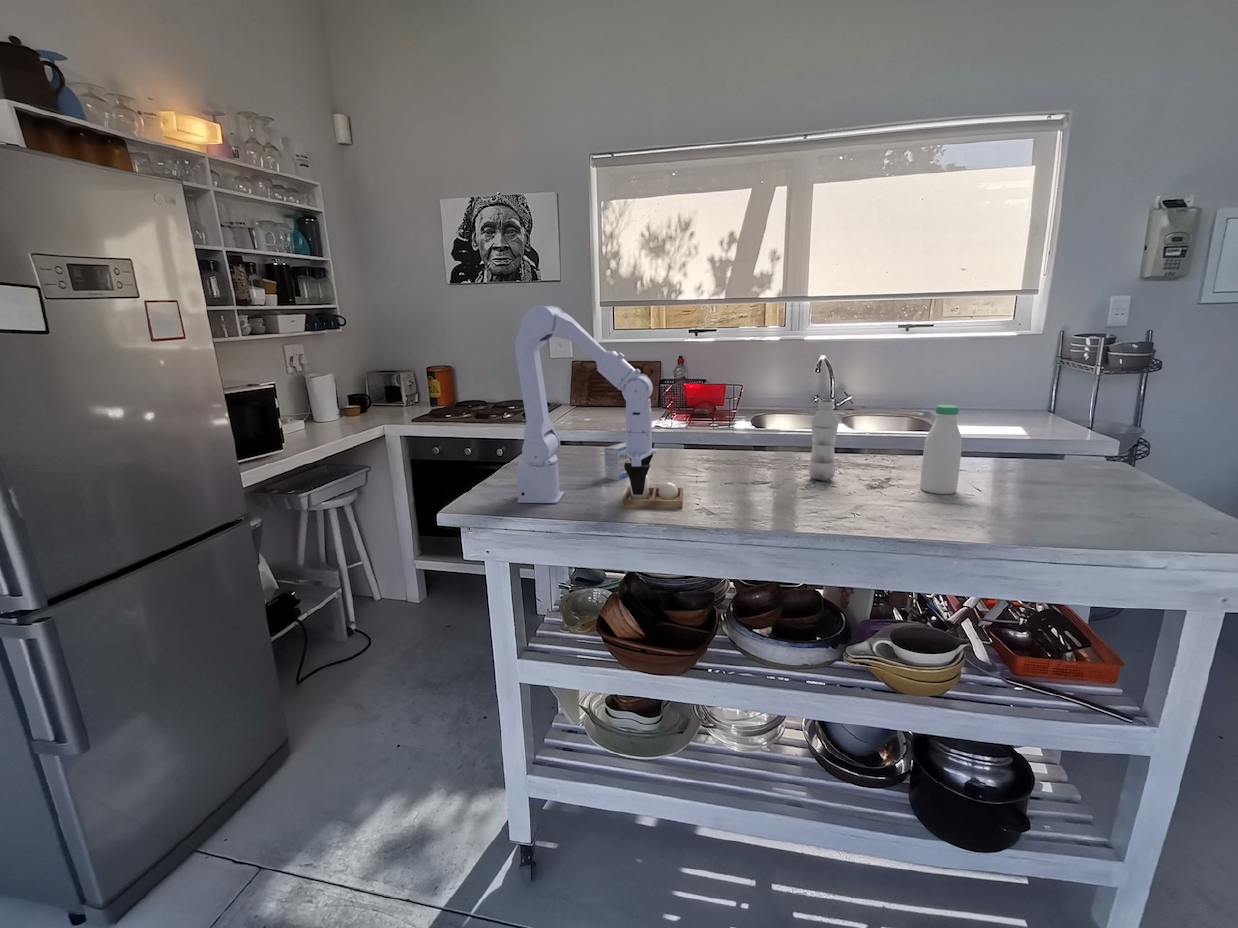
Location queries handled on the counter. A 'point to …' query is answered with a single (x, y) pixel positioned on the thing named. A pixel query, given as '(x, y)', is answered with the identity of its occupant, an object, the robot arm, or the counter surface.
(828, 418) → the plastic bottle
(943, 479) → the milk bottle
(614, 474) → the medicine box
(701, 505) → the counter surface
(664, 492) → the ceramic egg
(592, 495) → the counter surface
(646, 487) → the white rounded block
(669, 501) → the caddy
